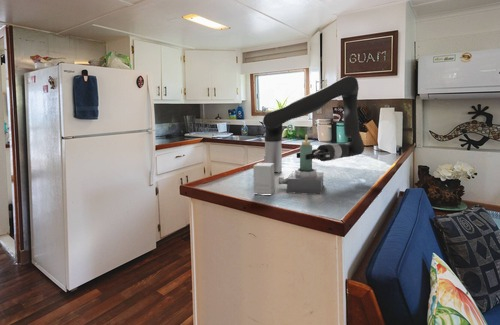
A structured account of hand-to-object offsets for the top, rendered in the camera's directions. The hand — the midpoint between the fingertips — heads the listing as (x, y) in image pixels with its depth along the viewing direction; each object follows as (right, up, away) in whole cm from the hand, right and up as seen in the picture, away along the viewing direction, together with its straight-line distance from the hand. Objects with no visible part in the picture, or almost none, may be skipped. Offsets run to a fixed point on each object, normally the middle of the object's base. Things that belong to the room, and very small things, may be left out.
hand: (301, 156), depth 133 cm
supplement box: (-16, -16, -2) cm, 23 cm away
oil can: (+2, -7, +3) cm, 8 cm away
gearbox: (0, -14, +5) cm, 15 cm away
